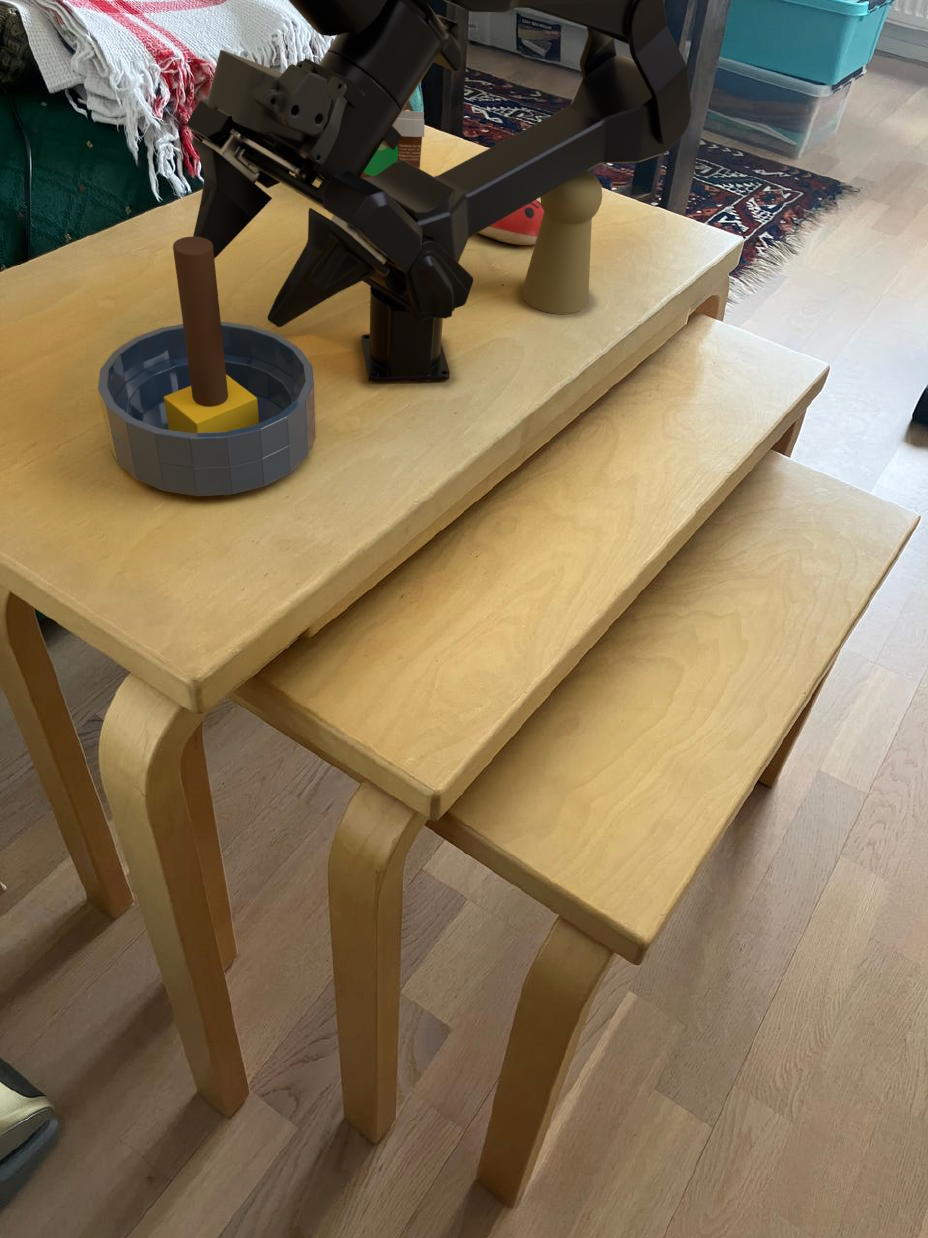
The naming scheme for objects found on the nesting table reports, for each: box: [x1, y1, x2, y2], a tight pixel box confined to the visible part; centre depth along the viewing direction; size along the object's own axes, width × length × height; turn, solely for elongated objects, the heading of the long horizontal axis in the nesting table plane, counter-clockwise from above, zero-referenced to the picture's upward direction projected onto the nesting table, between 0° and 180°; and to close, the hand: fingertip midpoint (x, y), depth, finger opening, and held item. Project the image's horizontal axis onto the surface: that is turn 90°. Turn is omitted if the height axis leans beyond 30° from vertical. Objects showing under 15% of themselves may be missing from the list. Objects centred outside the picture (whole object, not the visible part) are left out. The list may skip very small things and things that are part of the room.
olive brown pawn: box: [521, 171, 603, 315], centre depth 88 cm, size 6×6×11 cm
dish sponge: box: [164, 235, 259, 433], centre depth 68 cm, size 5×4×14 cm
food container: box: [361, 100, 425, 178], centre depth 100 cm, size 12×6×10 cm, turn 17°
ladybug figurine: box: [477, 199, 544, 246], centre depth 99 cm, size 7×10×4 cm
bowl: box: [97, 321, 317, 497], centre depth 71 cm, size 14×14×6 cm
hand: (232, 294), depth 67 cm, fingers open, 9 cm apart
